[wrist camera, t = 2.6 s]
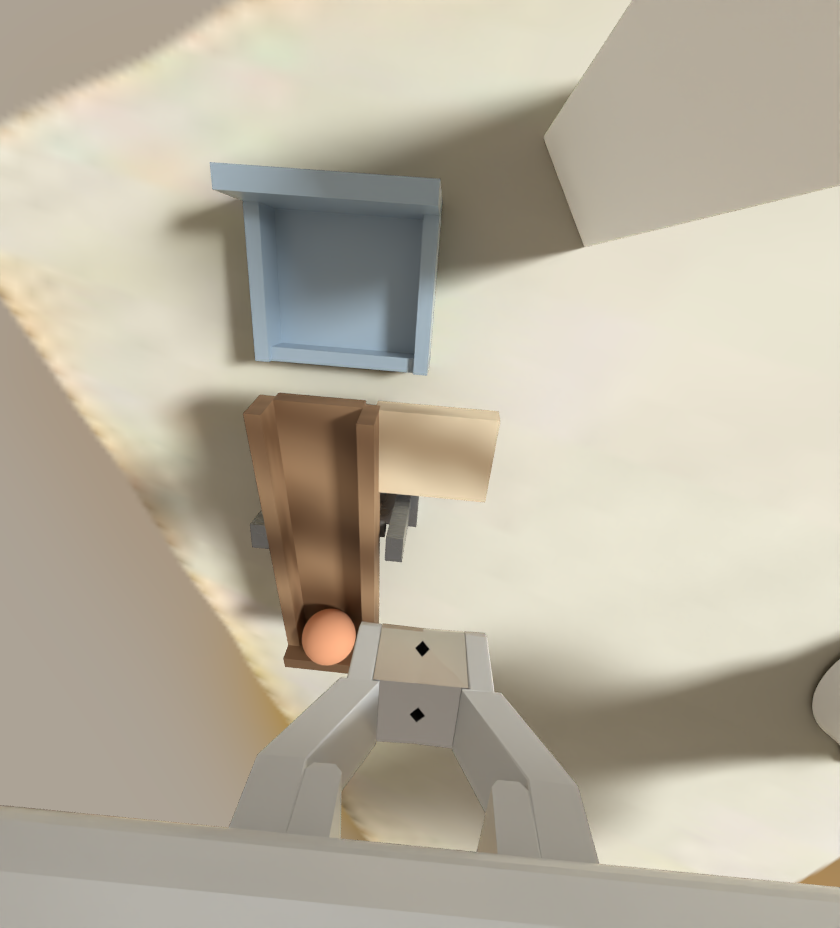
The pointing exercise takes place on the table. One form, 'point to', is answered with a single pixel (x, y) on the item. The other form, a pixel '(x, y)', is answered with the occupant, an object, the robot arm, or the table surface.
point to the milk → (700, 114)
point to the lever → (351, 492)
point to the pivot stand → (392, 510)
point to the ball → (328, 637)
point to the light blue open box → (339, 264)
